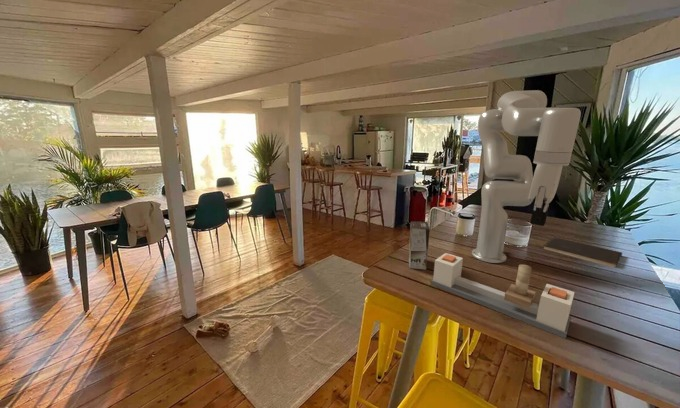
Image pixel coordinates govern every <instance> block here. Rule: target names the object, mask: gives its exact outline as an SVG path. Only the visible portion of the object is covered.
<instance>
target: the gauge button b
mask: <svg viewBox="0 0 680 408" xmlns="http://www.w3.org/2000/svg"><path fill="white" fill-rule="evenodd" d="M566 294H567V291H564V290H560V289H557V288H554V287H552V288H551V290H550V294H549V295H552V296H555V297H558V298H561V299H564V300H565V299H566Z"/></svg>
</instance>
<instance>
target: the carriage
mask: <svg viewBox="0 0 680 408" xmlns="http://www.w3.org/2000/svg"><path fill="white" fill-rule="evenodd" d="M532 269H533V268H532V267H531V266H530V265H527V264H518V269H517V273H516V280H515V284H513V283H511V284H510V286H509V287H508V288H507V290H506V292H505V297H504V300H506V301H509V302H512V303H515V304H517V305H520V306H523V307H525V308H528V309H529V308H530V306H531V304H532V302H533V303H534V300H535V297H536V293H537V292H536V291H534V290H532V289H529V284H530V280H531V275H532Z"/></svg>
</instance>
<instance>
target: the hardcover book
mask: <svg viewBox="0 0 680 408" xmlns="http://www.w3.org/2000/svg"><path fill="white" fill-rule="evenodd" d="M543 247H544V248H543V250H547V251H550V252H554V253H558V254H561V255H566V256H569V257H573V258H577V259H580V260H583V261H584V260H585V261H588V262H593V263H596V264H599V265H603V266H608V267H611V268H616V267H617V264H618V263H619V261H620V259H621V257H622V256H623V252H621V251H617V250H612V249H608V248H603V247H600V246H596V245H591V244H588V243H587V244H586V243H583V242H579V241H574V240H570V239H566V238H565V239H564V238H560V237H557V236H553V237H551V239H549V240H548V241H547V242H546V243H544V244H543Z"/></svg>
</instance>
